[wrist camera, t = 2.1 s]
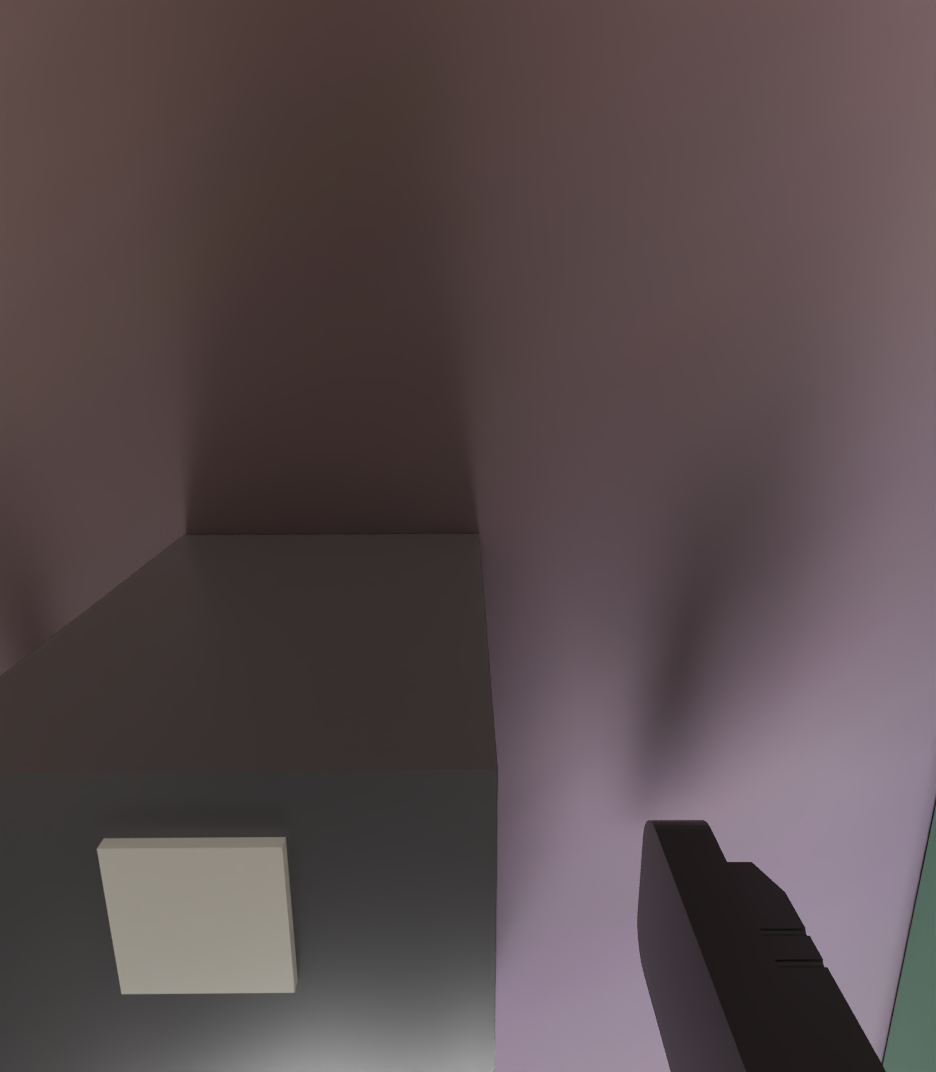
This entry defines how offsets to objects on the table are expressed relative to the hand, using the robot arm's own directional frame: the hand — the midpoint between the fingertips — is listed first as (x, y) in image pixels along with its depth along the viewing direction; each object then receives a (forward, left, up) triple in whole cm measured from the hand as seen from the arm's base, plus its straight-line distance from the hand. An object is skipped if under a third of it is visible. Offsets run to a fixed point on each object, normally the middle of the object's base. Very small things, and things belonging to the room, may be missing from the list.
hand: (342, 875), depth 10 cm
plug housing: (0, 0, -2) cm, 2 cm away
